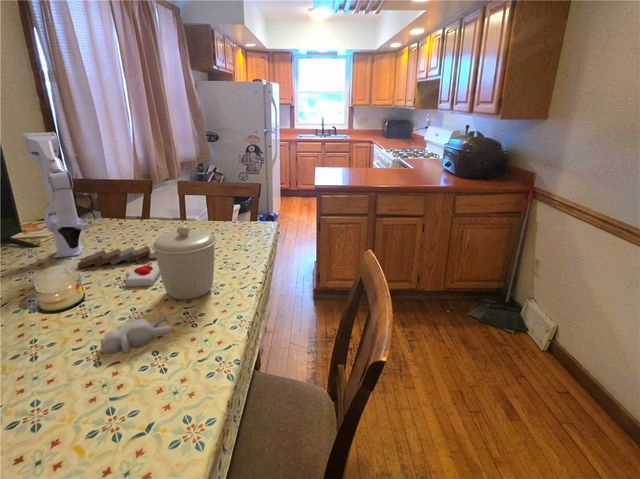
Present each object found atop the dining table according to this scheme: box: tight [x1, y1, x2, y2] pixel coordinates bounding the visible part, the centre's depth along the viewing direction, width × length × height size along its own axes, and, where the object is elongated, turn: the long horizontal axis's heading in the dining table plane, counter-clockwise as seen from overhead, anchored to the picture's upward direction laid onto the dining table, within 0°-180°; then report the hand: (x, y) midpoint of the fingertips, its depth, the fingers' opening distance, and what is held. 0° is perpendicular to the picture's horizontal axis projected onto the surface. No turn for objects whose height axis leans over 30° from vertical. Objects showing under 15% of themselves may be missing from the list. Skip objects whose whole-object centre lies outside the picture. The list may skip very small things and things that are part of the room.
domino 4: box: [136, 252, 157, 263], centre depth 139 cm, size 2×5×8 cm
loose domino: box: [109, 246, 136, 266], centre depth 136 cm, size 2×5×8 cm
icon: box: [124, 264, 161, 288], centre depth 123 cm, size 12×4×10 cm
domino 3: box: [125, 245, 151, 264], centre depth 138 cm, size 2×5×8 cm
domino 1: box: [77, 249, 107, 269], centre depth 132 cm, size 2×5×8 cm
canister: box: [150, 224, 218, 301], centre depth 112 cm, size 18×18×21 cm
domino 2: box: [93, 248, 122, 268], centre depth 134 cm, size 2×5×8 cm
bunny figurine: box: [100, 314, 173, 355], centre depth 91 cm, size 10×5×15 cm
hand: (74, 247), depth 129 cm, fingers closed
